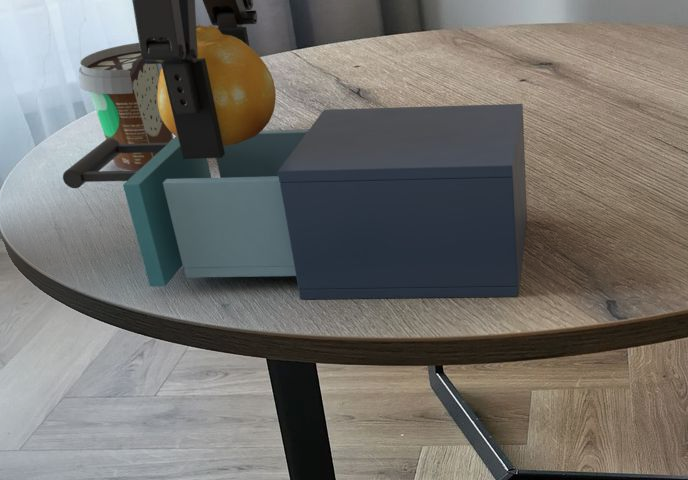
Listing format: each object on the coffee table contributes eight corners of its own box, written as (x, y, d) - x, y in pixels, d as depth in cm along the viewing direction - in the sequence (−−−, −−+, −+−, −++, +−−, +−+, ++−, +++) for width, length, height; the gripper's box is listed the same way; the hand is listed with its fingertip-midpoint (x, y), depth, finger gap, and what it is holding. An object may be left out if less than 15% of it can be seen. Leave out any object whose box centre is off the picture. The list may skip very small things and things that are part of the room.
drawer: (74, 287, 70) (41, 184, 66) (140, 219, 80) (116, 127, 76) (346, 283, 68) (330, 177, 64) (377, 214, 79) (365, 119, 75)
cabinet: (300, 299, 68) (277, 171, 63) (340, 222, 80) (323, 109, 75) (518, 296, 67) (512, 165, 62) (527, 219, 79) (522, 103, 74)
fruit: (158, 95, 72) (143, 9, 65) (268, 88, 74) (264, 5, 68) (169, 179, 68) (154, 97, 62) (284, 169, 71) (282, 89, 64)
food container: (117, 140, 102) (92, 44, 97) (176, 135, 103) (154, 39, 98) (87, 181, 92) (57, 76, 87) (153, 175, 92) (126, 71, 87)
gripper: (141, -235, 49) (229, 188, 60) (260, -233, 67) (310, 92, 78) (1, -226, 49) (114, 190, 61) (155, -227, 67) (220, 95, 79)
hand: (224, 134), depth 69 cm, fingers closed on fruit, 8 cm apart
